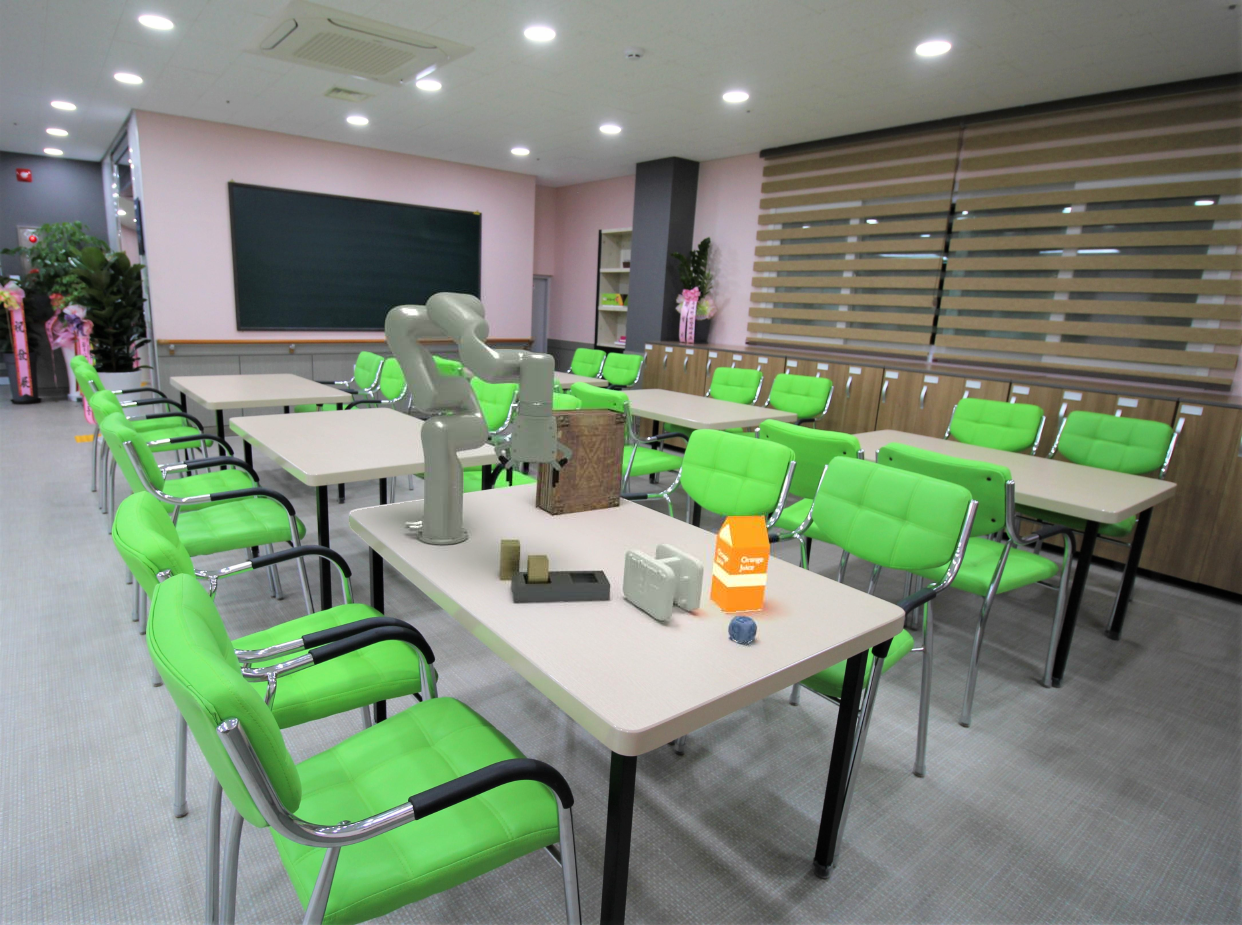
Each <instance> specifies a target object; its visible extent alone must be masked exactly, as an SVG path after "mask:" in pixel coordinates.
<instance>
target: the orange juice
mask: <svg viewBox="0 0 1242 925" xmlns="http://www.w3.org/2000/svg"><path fill="white" fill-rule="evenodd" d="M766 524H767V523H766V519H765V515H743V516H742V515H741V516H735V515H734V516H731V515H729V516H727V517H726V519H725V521H724V522H723V524H722V526H721V527H720V530H719V532H718V533H717V535H716V541H715V542H716V543H715V551H714V559H713V567H712V576H711V577H712V578H711V586H710V595H709V596H710V597H709V599H710V598H711V599H710V600H711V601H712V600H713V601H714V602H715V603H716V604H717V605H718V606H719V607H720V608H721V609H722V610H723V611H724V612H736V611H746V610H758V609H762V610H763V606H764V605H763V603H764V598H765V596H764V595H765V590H766V586H767V584H766V583H767V577H768V565H769V560H770V558H769V557H770V553H771V551H770V549H771V546H770V541H769V535H768V531H767V525H766ZM713 601H712V602H713ZM714 602H713V603H714ZM715 603H714V604H715ZM716 604H715V605H716Z"/></svg>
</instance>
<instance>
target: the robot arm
mask: <svg viewBox="0 0 1242 925" xmlns="http://www.w3.org/2000/svg"><path fill="white" fill-rule="evenodd" d="M485 312H486V311H485V307H484V305H483V303H482V301H481V300H480V299H479V298H478V297H476V296H475V295H472V294H469V293H457V292H445V291H443V292H442V291H441V292H437V293H435V294H433V295H431V296H430V297H429V298H428V300H427V301H426V303H425V305H420V304H404V305H403V304H401V305H398V306H395V307H393V308H392V309H390V310H389V311H388V313H387V315H386V318H385V320H384V321H385V322H384V336H385V339H386V343H387V345H388V347H389V350H390V351H391V353H392V355H393V357H394V358H395V360H396V362H397V364H398V365H399V367H400V370H401V372H402V375H403V377H404V380H405V383H406V385H407V388H408V391H409V393H410V395H411V399H412V401H413V403H414V405H415V408H416V409H417V410H418V411H419V412H420V413H423V414H427V415H429V414H434V416H432V417H429V418H428V419H426V420H425V421H424V422H423V424H422V426H421V427H420V440H421V445H422V446H421V447H422V450H423V451H422V452H423V453H422V454H423V459H424V460H423V462H424V463H423V464H424V465H423V466H424V467H423V468H424V471H423V474H424V476H423V477H424V493H423V495H424V496H423V517H422V519H418V520H417V521H414V520H406V521H405V525H404V526H405V527H404V528H405V529H409V531H417V535H416V536H417V539H418V540H420V542H423V543H427V544H430V545H442V546H443V545H453V544H454V545H455V544H459V543H462V542H463V541H466V540H467V539H468V538H469V531H468V530H467V529H465V528H463V512H464V511H463V510H464V506H463V504H464V466H463V465H462V462H461V461H460V459H459V457H458V455H457V453H459V452H465V451H466V452H467V451H471V450H476V449H477V450H478V449H480V448H482V447H483V446H484V445H485V444H486V443H487V441H488V438H489V428H488V427H489V426H488V422H487V419H486V417H485V414H484V412H483V409H482V407H481V404H480V402H479V399H478V397H477V394H476V391H475V390H474V388H473V385H472V384H471V383H470V382H469V380H467V379H466V378H465V377H463V376H461V375H456V374H449V375H446V374H445V375H444V374H442V373H441V372H440V371H439V368H438V366H437V362H436V360H435V359H434V357H433V355H432V354H431V352H430V351H429V350H428V349H427V348H426V347H425V346H423V345H422V344H421V343H420V342H419V341H420V340H423V341H424V340H425V341H446V340H452V341H453V342H454V343H455V344H456V345H457V347H458V353H459V354H458V355H459V358H460V360H461V362H462V365H463V366H464V367H465V368H466V370H468V371H469V372H470V373H471V374H473V375H474V376H475V377H477V379H479V380H480V381H482V382H484V383H486V384H489V385H490V384H491V385H500V384H504V385H505V384H518V401H517V402H516V403H511V410H513V411H516V412H517V414H514V417H513V420H512V428H511V434H510V435H511V436H510V439H509V440H508V441H504V442H503V443H500V444H498V445H497V446H494V447H493V451H494V453H495V455H496V457H497V459H498V461H499V462H500V463H501V464H502V465H503V466H504V467H505V470H506V471H505V482H507V483H508V487H513V475H514V474H513V473H514V467H513V465H514V464H515V463H516V462H517V463H518V462H520V463H521V462H522V463H538V462H540V463H550V462H551V464H552V465H553V466H554V468H553V471H552V487H553V488H556V483H559V470H560V469H561V468H562V467H563V466H564V465H565V464H566V463H567V462H568V460H569V459H570V457H571V455H572V454H573V452H572V450H571V449H569V448H567V447H566V446H564V445H562V444H560V443H559V442H557V424H556V418H555V417H554V416H552V412H553V410H554V408H553V407H554V389H555V388H554V387H555V386H554V385H555V365H556V364H555V363H556V362H555V358H554V356H553V355H551V354H548V353H543V352H542V353H540V352H532V351H529V350H526V349H516V348H515V349H514V348H513V349H512V348H492V347H489V346H488V345H486V344H485V343H486V341H487V340H488V338H489V334H490V325H489V323H488V322H487V320H486V319H485V317H486V313H485ZM445 413H446V414H445ZM435 414H439V415H435ZM509 448H510V449H509ZM507 449H509V450H510V451H509V452H510V457H509V458H507V457H506V456H505V455H504V454H503V452H502V451H504V450H507ZM557 449H559V450H560V451H562V452H564V453H565V455H564V457H563V458H562V459H561V460H560V461H559V462H558V461H557V459H556V457H557Z"/></svg>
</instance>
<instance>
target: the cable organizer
mask: <svg viewBox="0 0 1242 925" xmlns="http://www.w3.org/2000/svg"><path fill="white" fill-rule="evenodd" d="M624 556H625V558H624V559H625V560H624V568H623V570H624V571H623V580H622V581H623V583H622V592H623V595H624V597H625V599H627V600H628V601H629V602H630V603H631V602H632V603H631V604H633V605H634V604H635V605H634V606H636V607H637V606H638V607H637V608H640V609H642V610H643V611H644V612H646V613H648V615H649V614H650V615H649V616H651V617H652V616H653V617H652V618H654V619H655V618H656V619H655V620H657V619H658V621H664V620H669V619H670V618H671V617H672V615H673V607H674V603H676V604H677V608H681V609H682V608H683V610H684V611H685V610H686V612H692V611H696V610H699V608H700V606H701V598H702V590H703V589H702V588H703V581H704V570H705V569H704V565H703V563H702V561H701V560H699V559H698V558H697V557H694V556H692V555H690V554H689V553H686V552H684V551H683V550H680V549H679V548H677V547H675V546H673V545H671V544H669V543H660V544H658V545H657V546H656V548H655V558H654V557H652V556H650V555H649V554H646V553H645V552H643V551H641V550H639V549H636V548H635V549H630V550H628V551H626V553H625V555H624ZM679 606H680V607H679Z"/></svg>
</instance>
